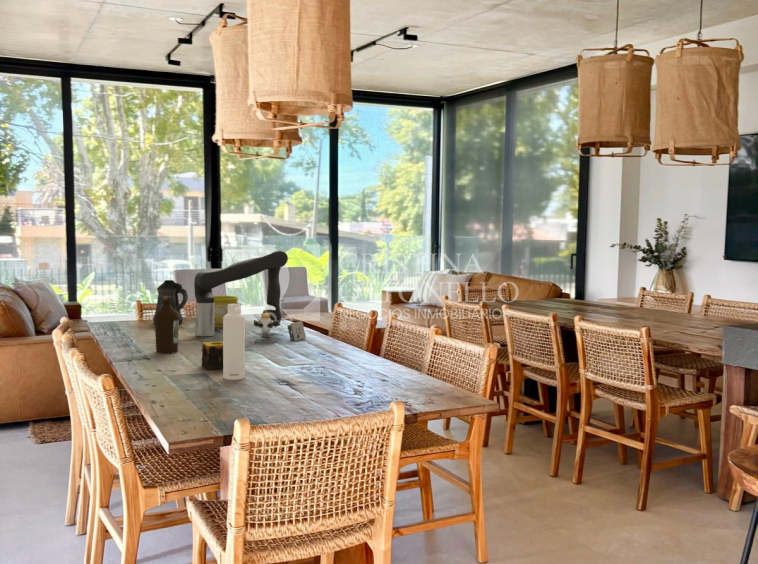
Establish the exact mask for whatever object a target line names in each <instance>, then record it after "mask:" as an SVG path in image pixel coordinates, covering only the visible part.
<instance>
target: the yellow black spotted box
mask: <svg viewBox="0 0 758 564" xmlns="http://www.w3.org/2000/svg"><path fill="white" fill-rule="evenodd" d="M201 367H202V368H203V369H205V370H206V371H217V370H223V340H220V341H203V342H202V343H201Z"/></svg>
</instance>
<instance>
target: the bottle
mask: <svg viewBox="0 0 758 564" xmlns="http://www.w3.org/2000/svg"><path fill="white" fill-rule="evenodd" d="M245 322H246V317H245V316H244V315H243V314H242V313H241V304H239V303H237V304H228V314H226V315H225V316H224V317H223V327H222V334H223V335H222V341H223V369H222V371H223V374H222V378H223V379H224V380H229V381H230V380H231V381H237V380H243V379H244V378H245V377H246V375H245V372H246V366H245V365H246V364H245V363H246V361H245V360H246V354H245V353H246V349H245V348H246V346H245V345H246V340H245V339H246V338H245V337H246V336H245V333H246V332H245V331H246V326H245V325H246V323H245Z"/></svg>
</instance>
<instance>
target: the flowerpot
mask: <svg viewBox="0 0 758 564" xmlns="http://www.w3.org/2000/svg"><path fill="white" fill-rule="evenodd" d="M213 296H214V328H223V317H224V316H225V315H226V314H228V304H239V302H238V300H239V297H238V296H233V295H213Z"/></svg>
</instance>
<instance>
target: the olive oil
mask: <svg viewBox="0 0 758 564" xmlns="http://www.w3.org/2000/svg"><path fill="white" fill-rule="evenodd" d="M154 314H155V313H154ZM154 321H155V324H154V334H155V335H154V337H155V350H156V351H155V352H156V353H157V354H176V353H178V351H179V346H178V345H179V330H180V329H179V325H180V324H179V316H178V313H177V312H176V310H175V309H174V308H173V307H172V306H171V305H170V297H163V306H162V307H161V308H160V309H159V310H158V311H157V312H156V314H155V318H154V320H153V322H154Z"/></svg>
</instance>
